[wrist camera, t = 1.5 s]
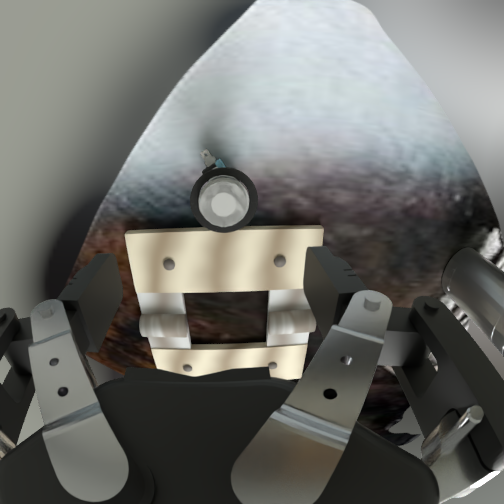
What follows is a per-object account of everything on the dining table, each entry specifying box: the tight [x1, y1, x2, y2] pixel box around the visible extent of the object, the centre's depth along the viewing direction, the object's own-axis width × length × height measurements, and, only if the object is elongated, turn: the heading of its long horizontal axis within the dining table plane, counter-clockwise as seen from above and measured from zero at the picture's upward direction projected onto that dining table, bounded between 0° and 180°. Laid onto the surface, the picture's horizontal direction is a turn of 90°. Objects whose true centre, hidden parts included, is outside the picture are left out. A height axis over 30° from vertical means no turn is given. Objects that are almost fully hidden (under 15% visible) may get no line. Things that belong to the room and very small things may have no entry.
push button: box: [190, 149, 258, 233], centre depth 25 cm, size 7×5×10 cm
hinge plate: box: [125, 225, 324, 380], centre depth 37 cm, size 23×26×3 cm
